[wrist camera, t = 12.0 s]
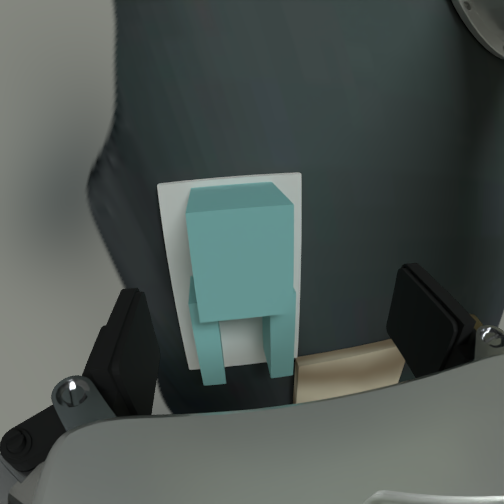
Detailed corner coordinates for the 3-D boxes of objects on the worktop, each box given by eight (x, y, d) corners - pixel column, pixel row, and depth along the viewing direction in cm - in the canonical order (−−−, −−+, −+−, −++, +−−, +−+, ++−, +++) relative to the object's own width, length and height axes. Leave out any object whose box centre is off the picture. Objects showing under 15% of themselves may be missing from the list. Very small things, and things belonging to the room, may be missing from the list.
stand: (295, 357, 27) (328, 447, 18) (404, 335, 28) (457, 403, 19) (289, 450, 33) (307, 517, 25) (373, 430, 34) (401, 489, 26)
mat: (158, 183, 20) (157, 185, 19) (298, 172, 21) (301, 174, 20) (189, 364, 26) (189, 369, 25) (295, 353, 27) (297, 357, 26)
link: (179, 189, 19) (170, 214, 14) (282, 181, 20) (308, 203, 15) (202, 354, 25) (204, 406, 20) (283, 345, 25) (299, 394, 20)
